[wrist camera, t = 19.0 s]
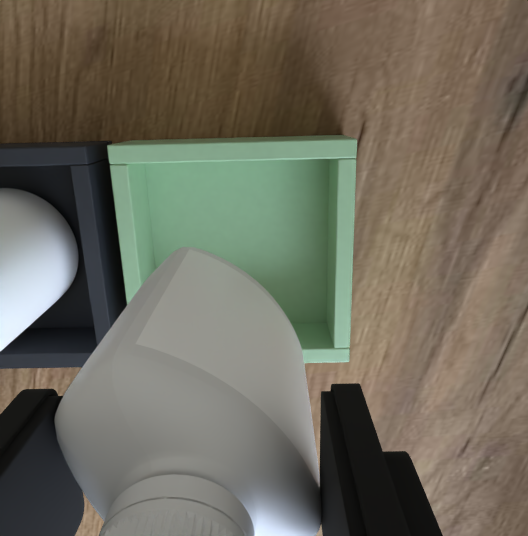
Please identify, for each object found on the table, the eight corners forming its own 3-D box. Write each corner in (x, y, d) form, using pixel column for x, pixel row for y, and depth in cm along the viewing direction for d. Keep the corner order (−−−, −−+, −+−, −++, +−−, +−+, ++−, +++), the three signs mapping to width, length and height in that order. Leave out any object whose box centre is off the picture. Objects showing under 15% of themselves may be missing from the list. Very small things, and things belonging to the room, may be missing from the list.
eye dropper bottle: (264, 220, 15) (253, 567, 3) (309, 371, 17) (401, 943, 5) (135, 256, 15) (-254, 675, 4) (191, 401, 17) (33, 991, 6)
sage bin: (129, 140, 23) (106, 144, 20) (344, 134, 23) (357, 138, 20) (151, 334, 27) (134, 366, 23) (339, 330, 27) (349, 362, 23)
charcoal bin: (-100, 146, 24) (-162, 151, 20) (111, 140, 23) (85, 145, 20) (-50, 338, 27) (-97, 370, 24) (135, 334, 27) (116, 367, 23)
